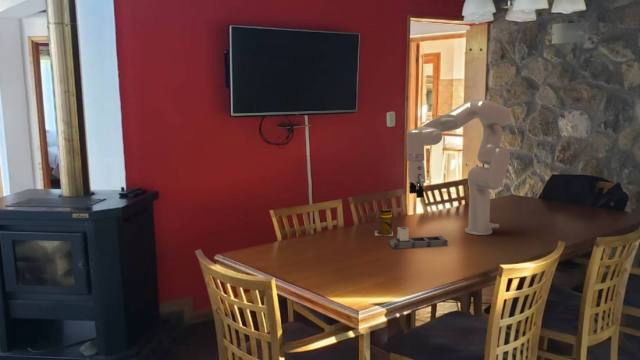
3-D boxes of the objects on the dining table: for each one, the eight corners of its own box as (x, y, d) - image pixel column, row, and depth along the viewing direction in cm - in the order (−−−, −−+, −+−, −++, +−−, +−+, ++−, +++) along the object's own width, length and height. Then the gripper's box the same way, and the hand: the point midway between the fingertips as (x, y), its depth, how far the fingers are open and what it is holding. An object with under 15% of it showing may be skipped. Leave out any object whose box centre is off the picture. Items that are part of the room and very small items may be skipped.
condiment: (393, 235, 267) (393, 211, 265) (374, 235, 268) (375, 210, 266) (392, 231, 274) (392, 207, 272) (374, 231, 275) (375, 207, 273)
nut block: (406, 244, 252) (406, 226, 251) (408, 246, 248) (408, 228, 247) (397, 244, 252) (397, 226, 250) (399, 247, 248) (399, 228, 247)
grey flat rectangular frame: (441, 241, 257) (441, 235, 256) (447, 246, 249) (447, 240, 248) (389, 243, 253) (389, 238, 253) (394, 248, 245) (394, 243, 245)
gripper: (430, 159, 242) (431, 198, 245) (417, 154, 259) (418, 191, 262) (413, 160, 241) (414, 200, 244) (401, 155, 258) (402, 192, 261)
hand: (416, 195), depth 253 cm, fingers open, 9 cm apart
